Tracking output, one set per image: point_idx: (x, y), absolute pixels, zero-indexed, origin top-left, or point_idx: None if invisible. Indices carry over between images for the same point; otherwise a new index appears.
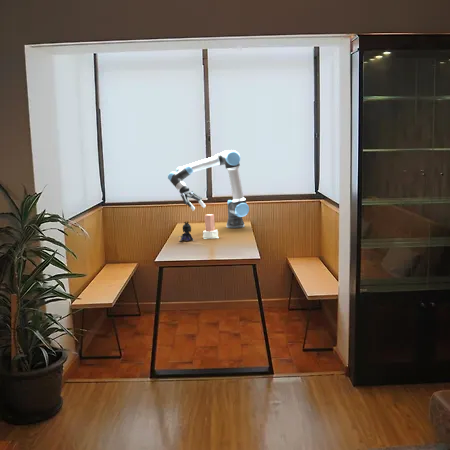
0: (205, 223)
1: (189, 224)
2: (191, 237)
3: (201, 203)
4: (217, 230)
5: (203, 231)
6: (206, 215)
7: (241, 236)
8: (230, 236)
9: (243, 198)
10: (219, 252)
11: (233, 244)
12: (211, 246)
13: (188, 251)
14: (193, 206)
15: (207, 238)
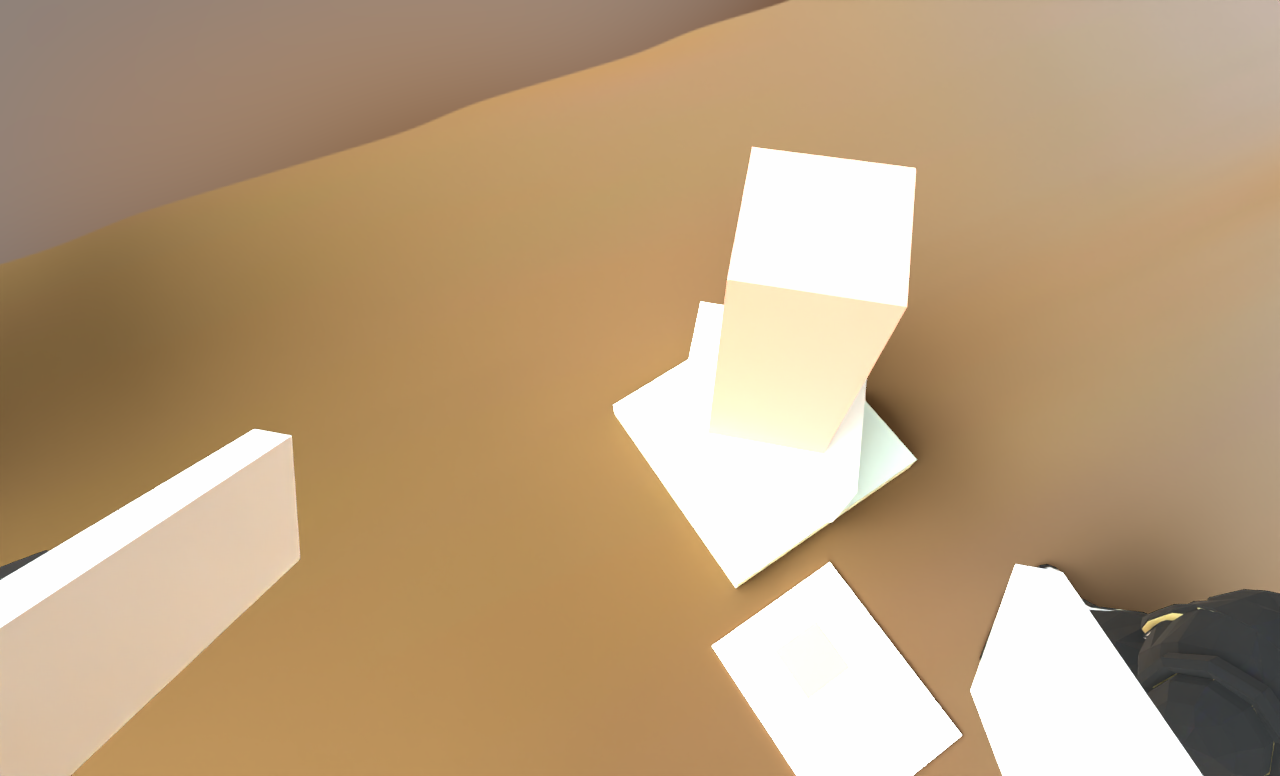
0: (855, 393)
1: (1199, 658)
2: (1109, 608)
3: (132, 628)
4: (709, 305)
5: (855, 481)
6: (908, 265)
7: (540, 157)
8: (553, 265)
9: None
10: None
11: (992, 78)
12: (1199, 230)
13: None
14: (1096, 646)
15: (866, 433)
